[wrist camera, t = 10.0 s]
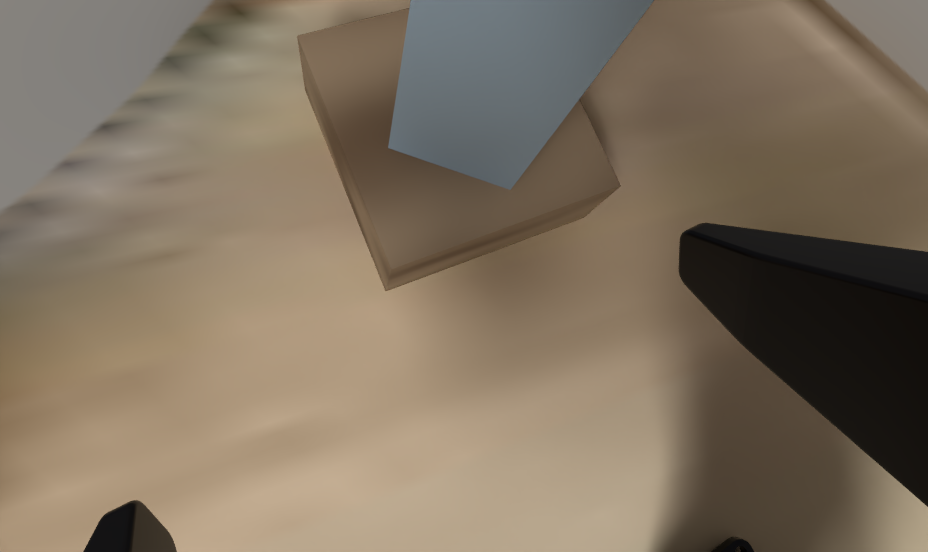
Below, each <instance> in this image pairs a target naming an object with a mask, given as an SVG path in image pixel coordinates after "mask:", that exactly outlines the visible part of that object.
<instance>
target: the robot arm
mask: <svg viewBox="0 0 928 552" xmlns="http://www.w3.org/2000/svg"><path fill="white" fill-rule="evenodd" d="M679 275H680V277H681V279H682V281H683V283H684V284H685V285H686V286H687V287H688V288H689V290H690V291H691V292H692V293H693V294H694V295H695V296H696V297H697V298H698V299H699V300H700V301H701V302H702V303H703V304H704V305H705V306H706V308H707V309H708V310H709V311H710V312H711V313H712V314H713V315H714V316H715V317H716V318H717V319H718V320H719V321H720V322H721V323H722V325H723V326H724V327H725V328H726V329H727V330H728V331H729V332H730V333H731V334H732V335H733V336H734V337H735V338H736V339H737V340H738V341H739V342H740V343H741V344H742V345H743V346H744V347H745V348H746V349H747V350H748V351H749V352H751V353H752V354H753V355H754V356H755V357H756V358H757V359H758V360H760V361H761V362H762V363H763V364H764V365H765V366H767V367H768V368H769V369H770V370H771V371H772V372H773V373H775V374H776V375H777V376H778V377H779V378H780V379H781V380H783V381H784V382H785V383H786V384H787V385H788V386H790V387H791V388H792V389H793V390H794V391H795V392H796V393H798V394H799V395H800V396H801V397H802V398H803V399H804V400H806V401H807V402H808V403H809V404H810V405H811V406H813V407H814V408H815V409H816V410H817V411H818V412H819V413H821V414H822V415H823V416H824V417H825V418H826V419H827V420H829V421H830V422H831V423H832V424H833V425H834V426H836V427H837V428H838V429H839V430H840V431H841V432H842V433H844V434H845V435H846V436H847V437H848V438H849V439H850V440H852V441H853V442H854V443H855V444H856V445H857V446H859V447H860V448H861V449H862V450H863V451H864V452H865V453H867V454H868V455H869V456H870V457H871V458H872V459H873V460H875V461H876V462H877V463H878V464H879V465H880V466H882V467H883V468H884V469H885V470H886V471H887V472H888V473H890V474H891V475H892V476H893V477H894V478H895V479H897V480H898V481H899V482H900V483H901V484H902V485H903V486H905V487H906V488H907V489H908V490H909V491H910V492H911V493H913V494H914V495H915V496H916V497H917V498H918V499H920V500H921V501H922V502H923V503H924V504H925V505H926V506H928V252H925V251H917V250H909V249H902V248H894V247H886V246H879V245H871V244H863V243H856V242H848V241H840V240H833V239H825V238H817V237H810V236H802V235H794V234H787V233H779V232H771V231H764V230H756V229H748V228H741V227H733V226H726V225H718V224H710V223H701V224H698V225H696V226H694V227H692V228H690V229H688V230H686V231H684V232H683V233H682V235H681V237H680V246H679ZM737 547H740V550H741V552H754V550H753V549H752V547H751V545H750V544H749V543H748V542H747V541H745V540H743V539H740V538H737V537H731V538H729V539H727V540H726V541H725V542H723V543H722V544H721V545H720V546H718V547H717V548H716V549H714V550H713V551H712V552H735V550H736V548H737ZM83 552H177V551H176V547H175V544H174V541H173V539H172V537H171V535H170V533H169V532H168V531H167V529H166V528H165V527H164V526H163V525H162V524H161V523H160V522H159V520H158V519H157V518H156V517H155V516H154V515H153V514H152V513H151V512H150V510H149V509H148V508H147V507H146V506H145V505H144V504H143V503H142V502H140V501H138V500H134V501H130V502H128V503H126V504H124V505H122V506H120V507H118V508H116V509H114V510H112V511H110V512H108V513H106V514H105V515H104V516H103V517H102V518H101V520H100V521H99V523H98V525H97V527H96V529H95V531H94V533H93V534H92V536H91V538H90V540H89V542H88V544H87V546H86V548H85V550H84V551H83Z"/></svg>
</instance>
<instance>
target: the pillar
mask: <svg viewBox="0 0 928 552" xmlns="http://www.w3.org/2000/svg"><path fill="white" fill-rule="evenodd" d="M653 1H654V0H411V2H410V9H409V15H408V22H407V28H406V35H405V41H404V48H403V54H402V61H401V67H400V74H399V80H398V87H397V93H396V100H395V106H394V113H393V119H392V126H391V132H390V139H389V145H388V148H390V149H393V150H395V151H398V152H401V153H404V154H407V155H410V156H413V157H416V158H419V159H422V160H425V161H427V162H430V163H433V164H436V165H439V166H442V167H445V168H448V169H451V170H454V171H457V172H459V173H462V174H465V175H468V176H471V177H474V178H477V179H480V180H483V181H486V182H489V183H491V184H494V185H497V186H500V187H503V188H506V189H509V190H511V189H512V187H513V186H514V185H515V183H516V182H517V181H518V179H519V178H520V177H521V175H522V174H523V173H524V171H525V170H526V169H527V167H528V166H529V165H530V164H531V162H532V161H533V160H534V158H535V157H536V156H537V154H538V153H539V152H540V150H541V149H542V148H543V146H544V145H545V144H546V142H547V141H548V140H549V138H550V137H551V136H552V134H553V133H554V132H555V131H556V129H557V128H558V127H559V125H560V124H561V123H562V121H563V120H564V119H565V117H566V116H567V115H568V113H569V112H570V111H571V109H572V108H573V107H574V105H575V104H576V103H577V101H578V100H579V99H580V97H581V96H582V95H583V94H584V92H585V91H586V90H587V88H588V87H589V86H590V84H591V83H592V82H593V80H594V79H595V78H596V76H597V75H598V74H599V72H600V71H601V70H602V68H603V67H604V66H605V64H606V63H607V62H608V60H609V59H610V58H611V57H612V55H613V54H614V53H615V51H616V50H617V49H618V47H619V46H620V45H621V43H622V42H623V41H624V39H625V38H626V37H627V35H628V34H629V33H630V31H631V30H632V29H633V27H634V26H635V25H636V24H637V22H638V21H639V20H640V18H641V17H642V16H643V14H644V13H645V12H646V10H647V9H648V8H649V6H650V5H651V4H652V2H653Z"/></svg>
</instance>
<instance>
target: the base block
mask: <svg viewBox="0 0 928 552" xmlns="http://www.w3.org/2000/svg"><path fill="white" fill-rule="evenodd" d="M409 9H410V8H408V9H404V10H400V11H395V12H391V13H387V14H383V15H379V16H375V17H371V18H367V19H363V20H359V21H355V22H351V23H347V24H343V25H339V26H335V27H331V28H327V29H322V30H318V31H314V32H310V33H306V34H302V35H298V36H297V38H298V45H299V52H300V58H301V65H302V72H303V79H304V85H305V91H306V93H307V96H308V98H309V101H310V103H311V106H312V108H313V111H314V113H315V116H316V118H317V121H318V123H319V126H320V128H321V131H322V133H323V136H324V138H325V141H326V143H327V146H328V148H329V151H330V153H331V156H332V158H333V161H334V163H335V166H336V168H337V171H338V173H339V176H340V178H341V181H342V183H343V186H344V188H345V191H346V193H347V196H348V198H349V201H350V203H351V206H352V208H353V211H354V213H355V216H356V218H357V221H358V223H359V226H360V228H361V231H362V233H363V236H364V238H365V241H366V243H367V246H368V248H369V251H370V253H371V256H372V258H373V261H374V263H375V266H376V268H377V271H378V273H379V276H380V278H381V281H382V283H383V286H384V288H385V291H388V290H391V289H393V288H396V287H399V286H401V285H404V284H407V283H409V282H412V281H415V280H417V279H420V278H423V277H426V276H428V275H431V274H434V273H436V272H439V271H442V270H444V269H447V268H450V267H452V266H455V265H458V264H460V263H463V262H466V261H468V260H471V259H474V258H477V257H479V256H482V255H485V254H487V253H490V252H493V251H495V250H498V249H501V248H503V247H506V246H509V245H511V244H514V243H517V242H519V241H522V240H525V239H527V238H530V237H533V236H536V235H538V234H541V233H544V232H546V231H549V230H552V229H554V228H557V227H560V226H562V225H565V224H568V223H570V222H573V221H576V220H578V219H581V218H584V217H585V216H586V215H587V214H588V213H590V212H591V211H592V210H593V209H594V208H595V207H597V206H598V205H599V204H600V203H601V202H602V201H604V200H605V199H606V198H607V197H608V196H609V195H611V194H612V193H613V192H614V191H615V190H616V189H618V188H619V187H620V186H621V185H620V183H619V181H618V179H617V177H616V175H615V173H614V171H613V168H612V166H611V164H610V162H609V160H608V158H607V156H606V154H605V152H604V149H603V147H602V145H601V143H600V141H599V139H598V137H597V135H596V133H595V131H594V128H593V126H592V124H591V122H590V120H589V118H588V116H587V114H586V112H585V110H584V107H583V105H582V103H581V101H580V99H579V100H578V101H577V103H576V104H575V105H574V107H573V108H572V109H571V111H570V112H569V113H568V115H567V116H566V117H565V119H564V120H563V121H562V123H561V124H560V125H559V127H558V128H557V129H556V131H555V132H554V133H553V134H552V136H551V137H550V138H549V140H548V141H547V142H546V144H545V145H544V146H543V148H542V149H541V150H540V152H539V153H538V154H537V156H536V157H535V158H534V160H533V161H532V162H531V164H530V165H529V166H528V167H527V169H526V170H525V171H524V173H523V174H522V175H521V177H520V178H519V179H518V181H517V182H516V183H515V185H514V186H513V187H512V189H511V190H509V189H506V188H503V187H500V186H497V185H494V184H491V183H489V182H486V181H483V180H480V179H477V178H474V177H471V176H468V175H465V174H462V173H459V172H457V171H454V170H451V169H448V168H445V167H442V166H439V165H436V164H433V163H430V162H427V161H425V160H422V159H419V158H416V157H413V156H410V155H407V154H404V153H401V152H398V151H395V150H393V149H390V148H388V145H389V139H390V132H391V126H392V119H393V113H394V106H395V100H396V93H397V87H398V80H399V74H400V67H401V61H402V54H403V48H404V41H405V35H406V28H407V22H408V15H409Z"/></svg>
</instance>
